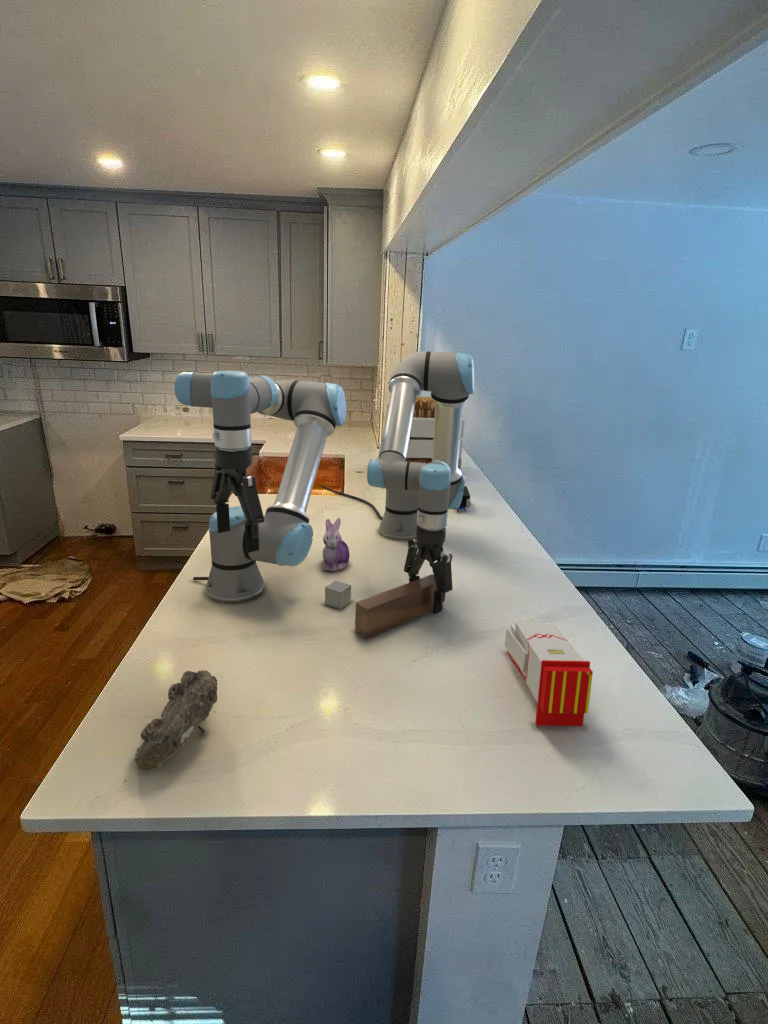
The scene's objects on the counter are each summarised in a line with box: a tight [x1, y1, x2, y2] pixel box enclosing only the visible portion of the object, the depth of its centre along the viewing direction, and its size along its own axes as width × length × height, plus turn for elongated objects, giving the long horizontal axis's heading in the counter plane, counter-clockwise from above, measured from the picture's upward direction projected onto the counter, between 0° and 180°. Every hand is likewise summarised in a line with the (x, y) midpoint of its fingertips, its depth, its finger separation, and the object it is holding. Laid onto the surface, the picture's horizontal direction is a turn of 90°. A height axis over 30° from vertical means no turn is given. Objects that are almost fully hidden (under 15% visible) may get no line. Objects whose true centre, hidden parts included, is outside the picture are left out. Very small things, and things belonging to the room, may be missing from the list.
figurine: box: [322, 517, 351, 572], centre depth 171 cm, size 9×10×15 cm
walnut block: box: [354, 574, 442, 640], centre depth 144 cm, size 4×26×8 cm, turn 131°
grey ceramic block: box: [324, 579, 352, 610], centre depth 151 cm, size 5×5×5 cm
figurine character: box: [456, 485, 472, 513], centre depth 228 cm, size 7×8×15 cm
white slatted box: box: [385, 396, 465, 472], centre depth 268 cm, size 34×33×41 cm
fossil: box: [134, 669, 218, 770], centre depth 103 cm, size 22×10×15 cm
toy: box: [503, 622, 594, 727], centre depth 121 cm, size 12×13×30 cm
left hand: (237, 541), depth 126 cm, fingers open, 13 cm apart
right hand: (425, 605), depth 151 cm, fingers open, 8 cm apart
